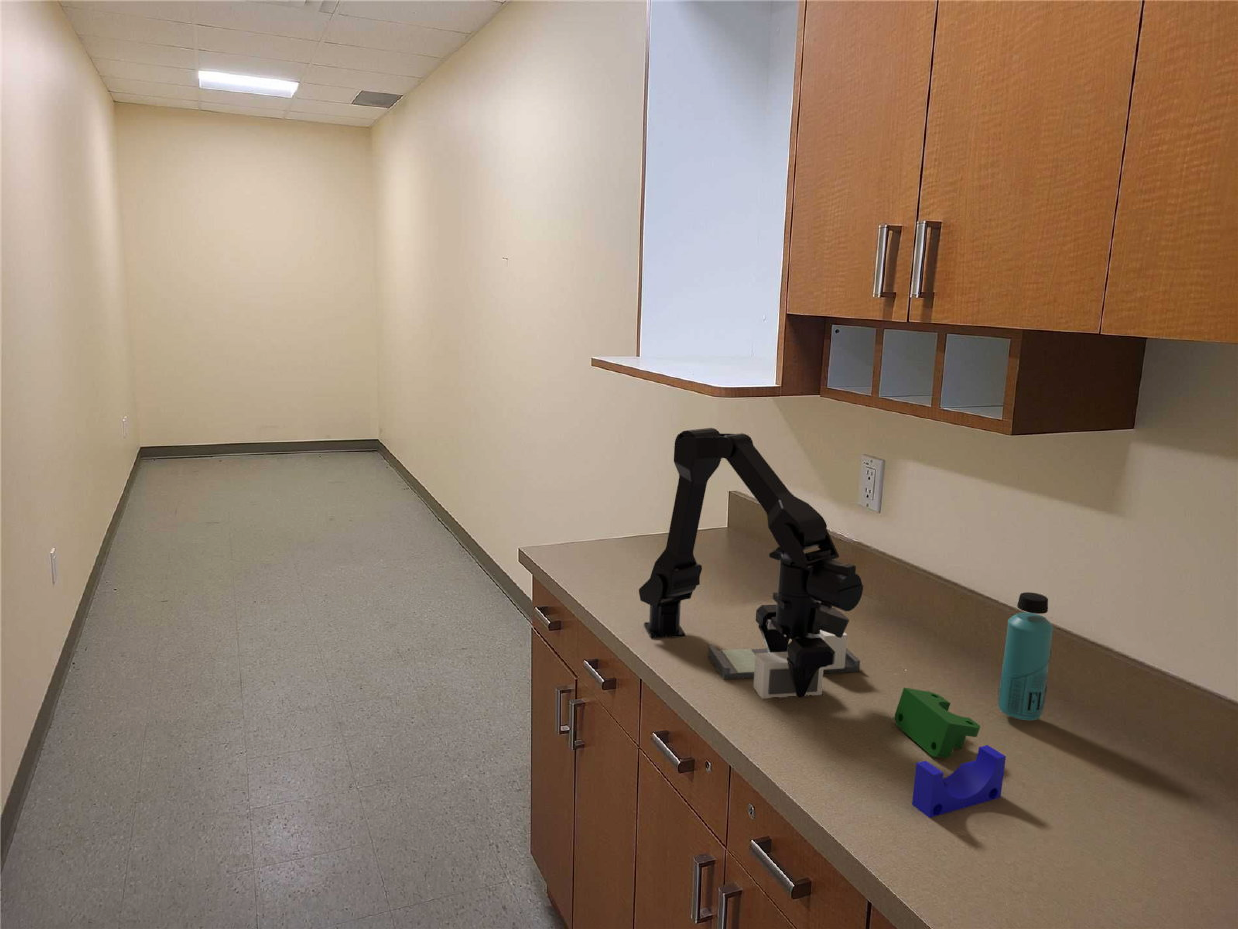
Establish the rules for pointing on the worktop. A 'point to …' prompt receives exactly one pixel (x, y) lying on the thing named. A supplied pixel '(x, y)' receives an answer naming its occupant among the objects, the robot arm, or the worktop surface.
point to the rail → (743, 662)
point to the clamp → (932, 722)
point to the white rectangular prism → (780, 676)
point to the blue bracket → (959, 784)
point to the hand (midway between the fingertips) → (789, 683)
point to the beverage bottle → (1026, 659)
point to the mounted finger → (834, 647)
